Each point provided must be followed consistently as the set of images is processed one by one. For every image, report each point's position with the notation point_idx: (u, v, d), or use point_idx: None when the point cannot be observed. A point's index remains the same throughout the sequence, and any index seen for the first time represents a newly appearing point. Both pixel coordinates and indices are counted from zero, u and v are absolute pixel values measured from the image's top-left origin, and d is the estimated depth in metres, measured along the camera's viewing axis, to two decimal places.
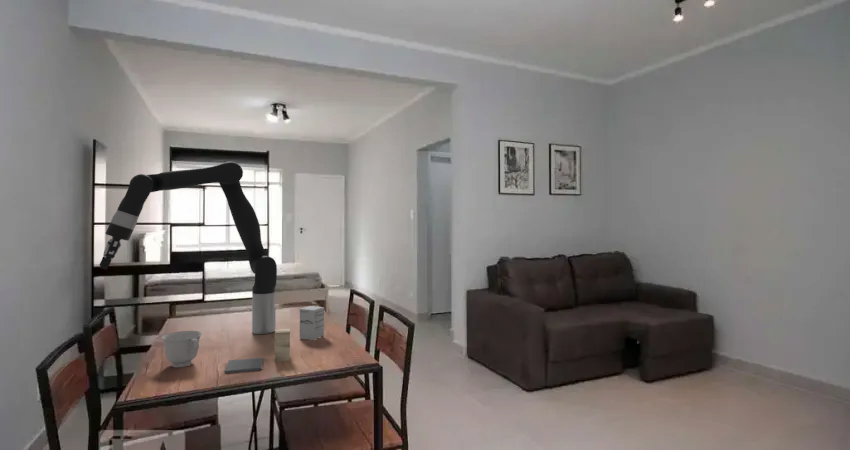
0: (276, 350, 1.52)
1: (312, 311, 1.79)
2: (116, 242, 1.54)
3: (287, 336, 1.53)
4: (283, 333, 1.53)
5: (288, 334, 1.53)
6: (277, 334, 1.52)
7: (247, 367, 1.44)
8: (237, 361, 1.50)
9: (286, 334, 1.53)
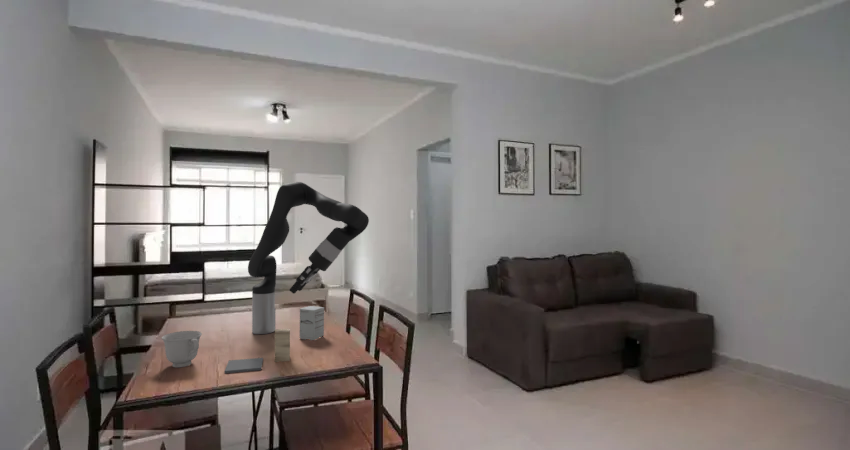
0: (276, 350, 1.52)
1: (312, 311, 1.79)
2: None
3: (287, 336, 1.53)
4: (283, 333, 1.53)
5: (288, 334, 1.53)
6: (277, 334, 1.52)
7: (247, 367, 1.44)
8: (237, 361, 1.50)
9: (286, 334, 1.53)
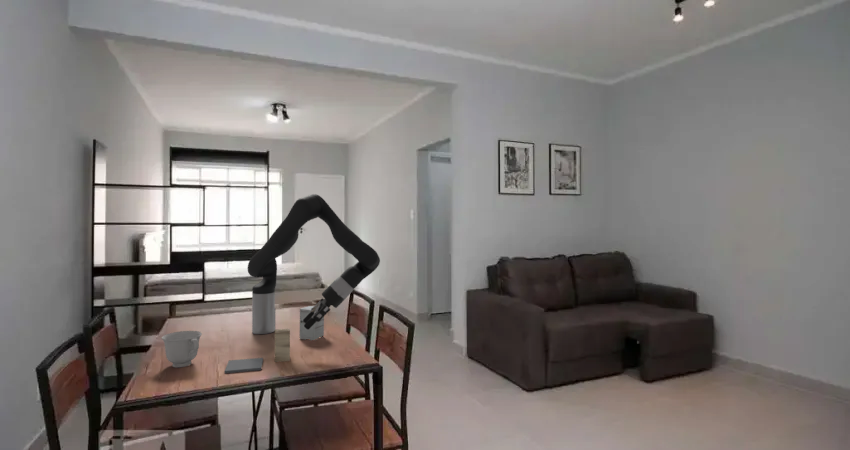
0: (276, 350, 1.52)
1: None
2: None
3: (287, 336, 1.53)
4: (283, 333, 1.53)
5: (288, 334, 1.53)
6: (277, 334, 1.52)
7: (247, 367, 1.44)
8: (237, 361, 1.50)
9: (286, 334, 1.53)
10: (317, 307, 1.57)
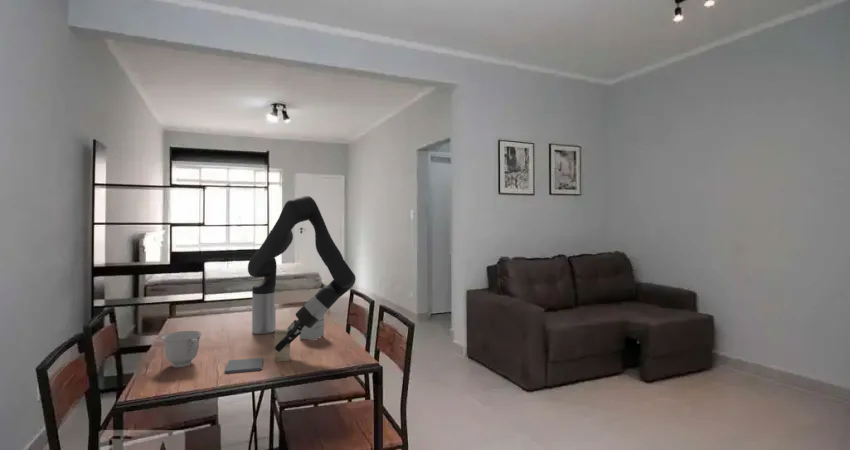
0: (276, 350, 1.52)
1: None
2: None
3: None
4: (283, 333, 1.53)
5: None
6: (277, 334, 1.52)
7: (247, 367, 1.44)
8: (237, 361, 1.50)
9: (286, 334, 1.53)
10: (290, 328, 1.54)
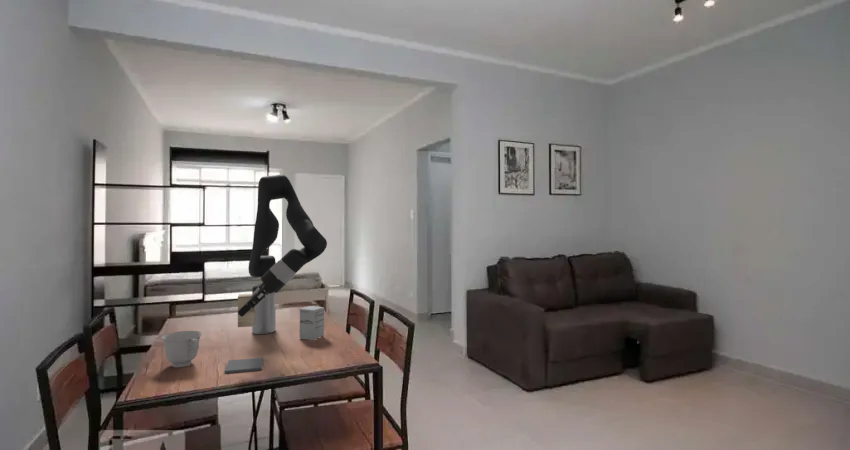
0: (239, 315, 1.44)
1: (312, 311, 1.79)
2: None
3: None
4: (247, 297, 1.45)
5: None
6: (240, 298, 1.44)
7: (247, 367, 1.44)
8: (237, 361, 1.50)
9: (250, 298, 1.45)
10: (254, 292, 1.46)
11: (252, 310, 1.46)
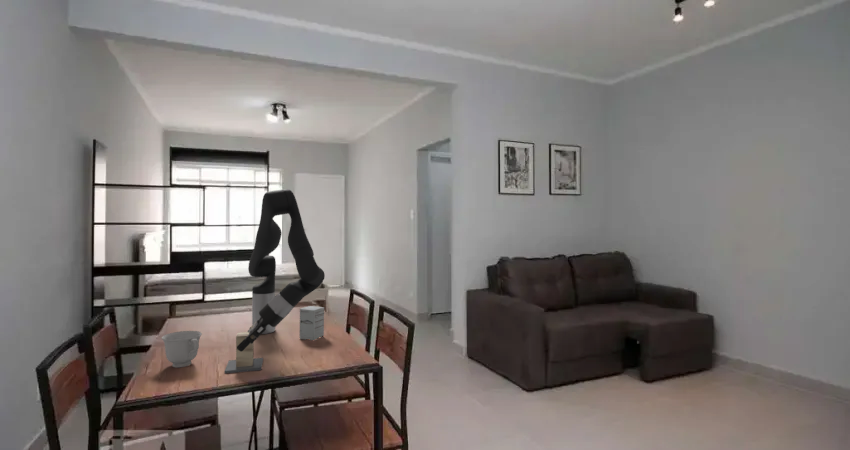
0: (238, 354, 1.44)
1: (312, 311, 1.79)
2: None
3: None
4: (245, 336, 1.45)
5: None
6: (239, 338, 1.44)
7: (247, 367, 1.44)
8: None
9: None
10: (253, 327, 1.46)
11: (250, 349, 1.45)
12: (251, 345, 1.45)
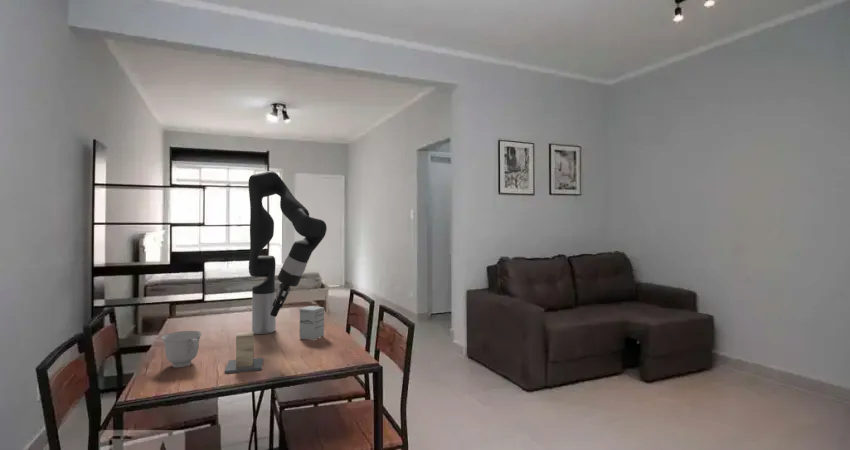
0: (238, 354, 1.44)
1: (312, 311, 1.79)
2: None
3: (250, 339, 1.45)
4: (245, 336, 1.45)
5: (250, 337, 1.45)
6: (239, 338, 1.44)
7: (247, 367, 1.44)
8: None
9: (248, 338, 1.45)
10: (277, 292, 1.53)
11: (250, 349, 1.45)
12: (251, 345, 1.45)
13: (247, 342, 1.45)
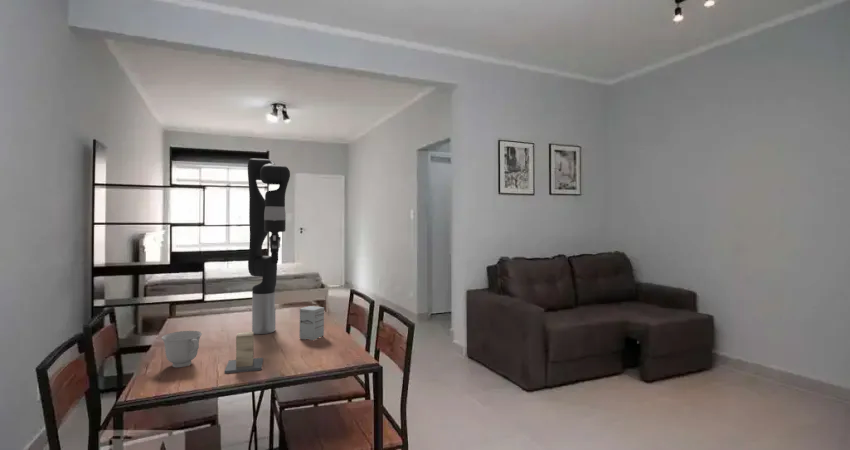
0: (238, 354, 1.44)
1: (312, 311, 1.79)
2: None
3: (250, 339, 1.45)
4: (245, 336, 1.45)
5: (250, 337, 1.45)
6: (239, 338, 1.44)
7: (247, 367, 1.44)
8: None
9: (248, 338, 1.45)
10: None
11: (250, 349, 1.45)
12: (251, 345, 1.45)
13: (247, 342, 1.45)
